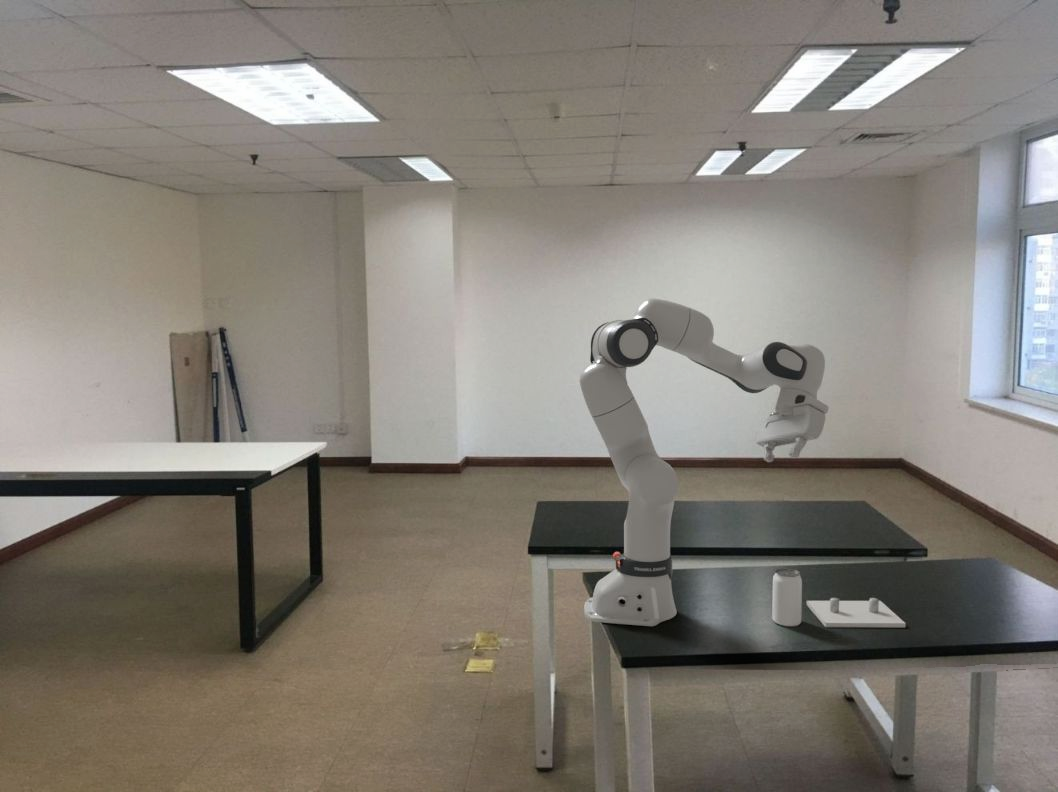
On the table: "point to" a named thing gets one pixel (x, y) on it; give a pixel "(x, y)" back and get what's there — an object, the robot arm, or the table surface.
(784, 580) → the can
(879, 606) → the pin plate
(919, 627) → the table surface
